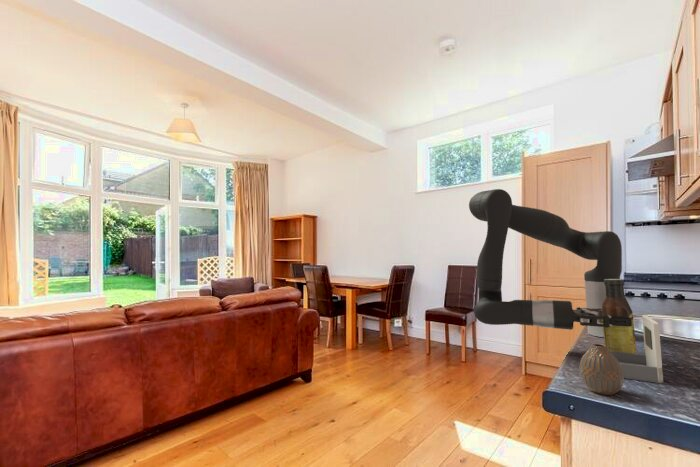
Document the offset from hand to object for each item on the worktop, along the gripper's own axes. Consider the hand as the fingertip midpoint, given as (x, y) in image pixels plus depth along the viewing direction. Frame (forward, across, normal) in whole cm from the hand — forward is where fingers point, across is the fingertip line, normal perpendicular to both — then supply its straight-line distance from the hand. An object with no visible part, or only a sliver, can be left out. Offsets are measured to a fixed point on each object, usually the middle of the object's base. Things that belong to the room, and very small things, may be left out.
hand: (628, 318), depth 84 cm
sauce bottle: (-2, 0, +10) cm, 10 cm away
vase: (-9, -26, +10) cm, 29 cm away
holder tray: (-3, -11, +10) cm, 15 cm away
